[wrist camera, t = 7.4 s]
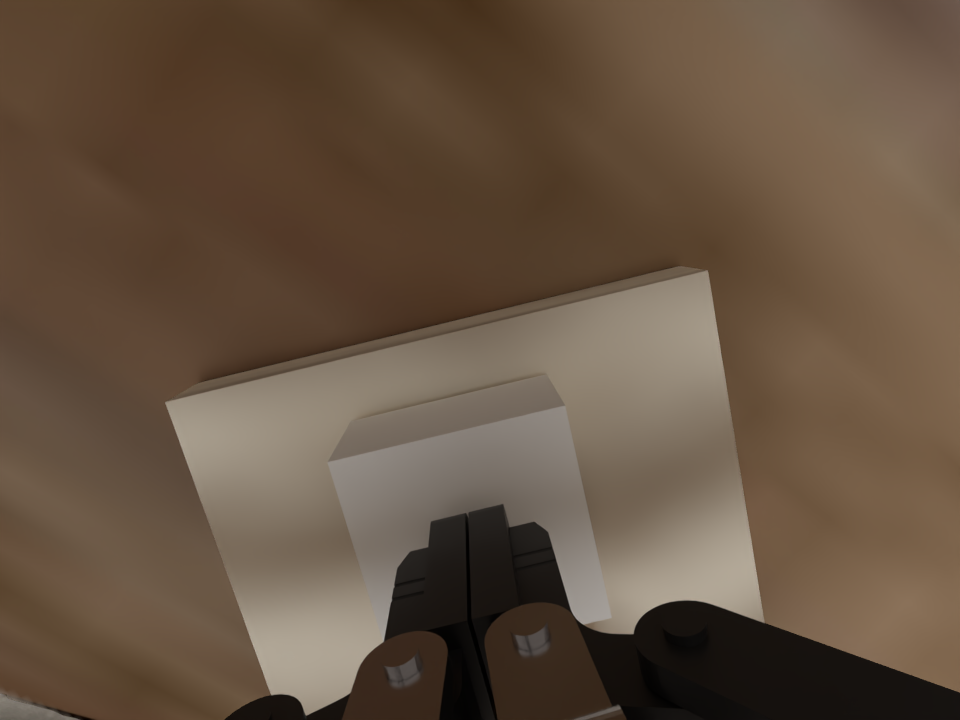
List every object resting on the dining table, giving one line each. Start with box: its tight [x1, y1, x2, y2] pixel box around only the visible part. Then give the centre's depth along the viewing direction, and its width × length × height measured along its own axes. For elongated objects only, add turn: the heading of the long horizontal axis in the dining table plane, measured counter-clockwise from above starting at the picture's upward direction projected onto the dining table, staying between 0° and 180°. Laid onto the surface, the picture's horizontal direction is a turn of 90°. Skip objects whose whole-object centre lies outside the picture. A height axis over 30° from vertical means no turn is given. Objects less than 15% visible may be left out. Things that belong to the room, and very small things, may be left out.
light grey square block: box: [327, 374, 612, 642], centre depth 14 cm, size 5×5×3 cm
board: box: [165, 266, 764, 716], centre depth 18 cm, size 22×14×4 cm, turn 14°
